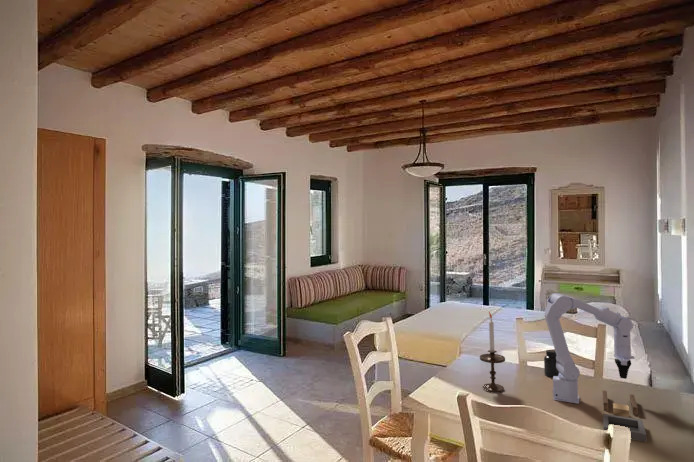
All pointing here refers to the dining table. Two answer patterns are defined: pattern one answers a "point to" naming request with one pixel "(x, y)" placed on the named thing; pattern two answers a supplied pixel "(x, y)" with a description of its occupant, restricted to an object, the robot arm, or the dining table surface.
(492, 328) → the candlestick
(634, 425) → the trap pit
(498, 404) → the dining table surface
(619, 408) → the oak block
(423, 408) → the dining table surface
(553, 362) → the supplement bottle
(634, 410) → the walnut channel
